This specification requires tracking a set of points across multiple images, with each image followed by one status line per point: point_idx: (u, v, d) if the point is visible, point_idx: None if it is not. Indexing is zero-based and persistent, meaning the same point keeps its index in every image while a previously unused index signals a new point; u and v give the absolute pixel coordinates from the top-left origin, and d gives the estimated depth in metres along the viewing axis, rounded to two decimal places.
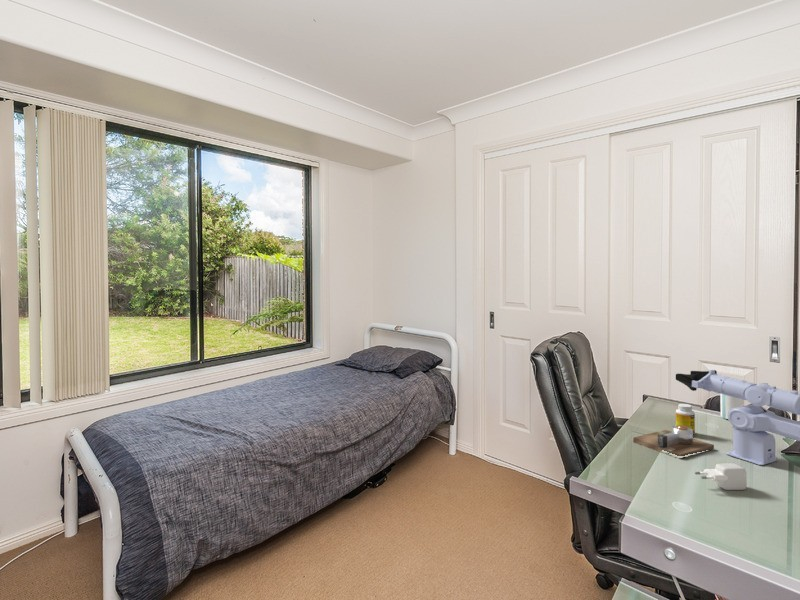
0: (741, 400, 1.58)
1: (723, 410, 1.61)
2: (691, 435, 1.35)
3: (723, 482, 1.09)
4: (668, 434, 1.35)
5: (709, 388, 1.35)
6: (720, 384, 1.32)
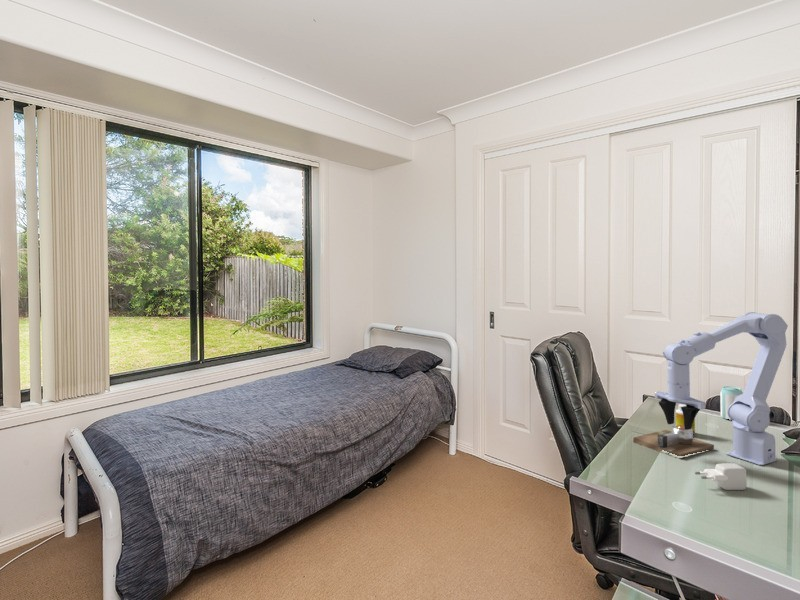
0: None
1: (723, 410, 1.61)
2: (691, 435, 1.35)
3: (723, 482, 1.09)
4: (668, 434, 1.35)
5: (689, 395, 1.28)
6: (685, 386, 1.27)
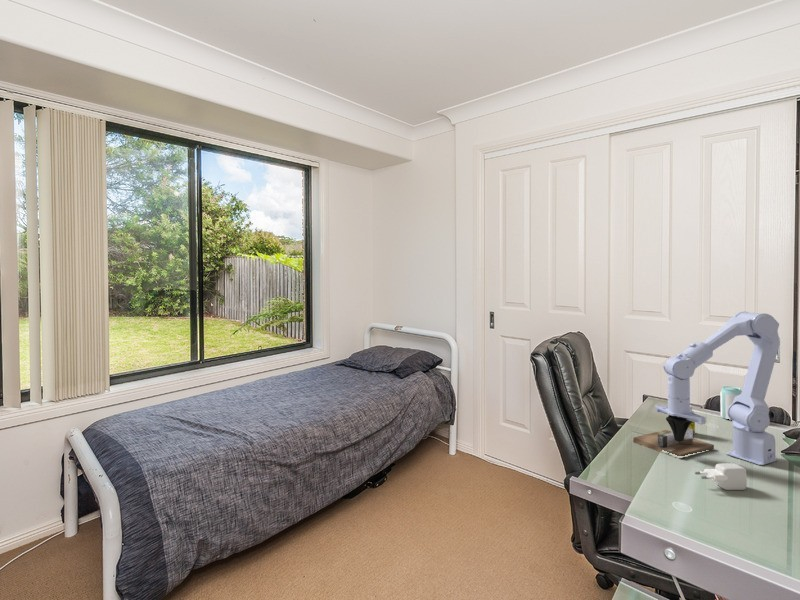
0: None
1: (723, 410, 1.61)
2: (691, 435, 1.35)
3: (723, 482, 1.09)
4: (668, 434, 1.35)
5: (689, 410, 1.28)
6: (686, 400, 1.27)
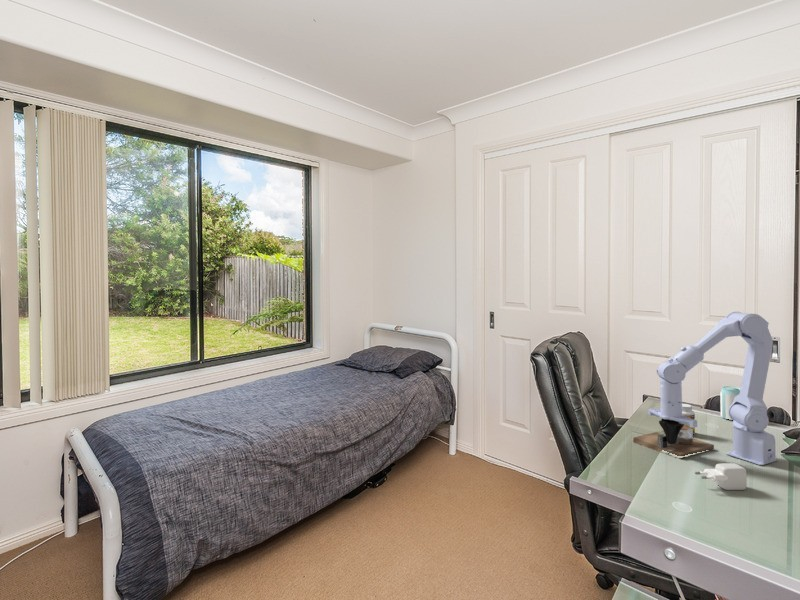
0: None
1: (723, 410, 1.61)
2: (691, 435, 1.35)
3: (723, 482, 1.09)
4: None
5: None
6: (678, 404, 1.29)
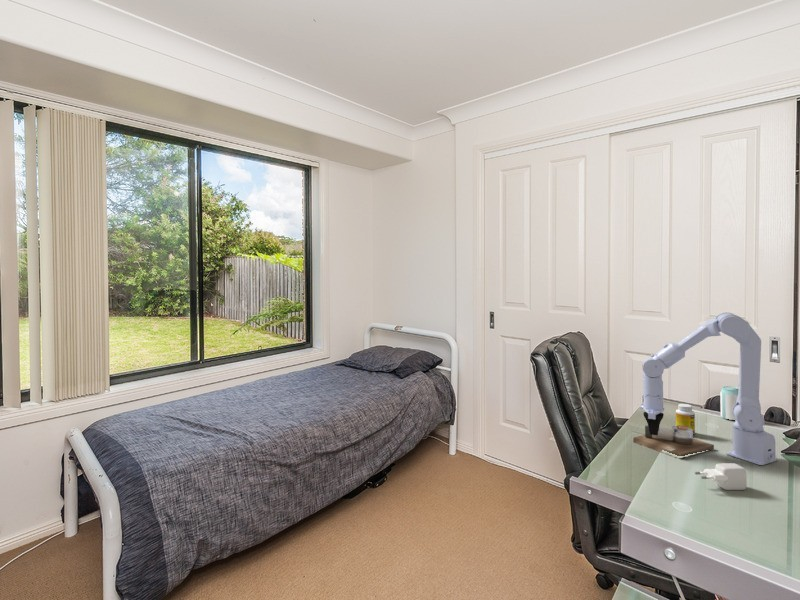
0: None
1: (723, 410, 1.61)
2: (683, 435, 1.35)
3: (723, 482, 1.09)
4: None
5: (658, 407, 1.37)
6: (649, 397, 1.38)
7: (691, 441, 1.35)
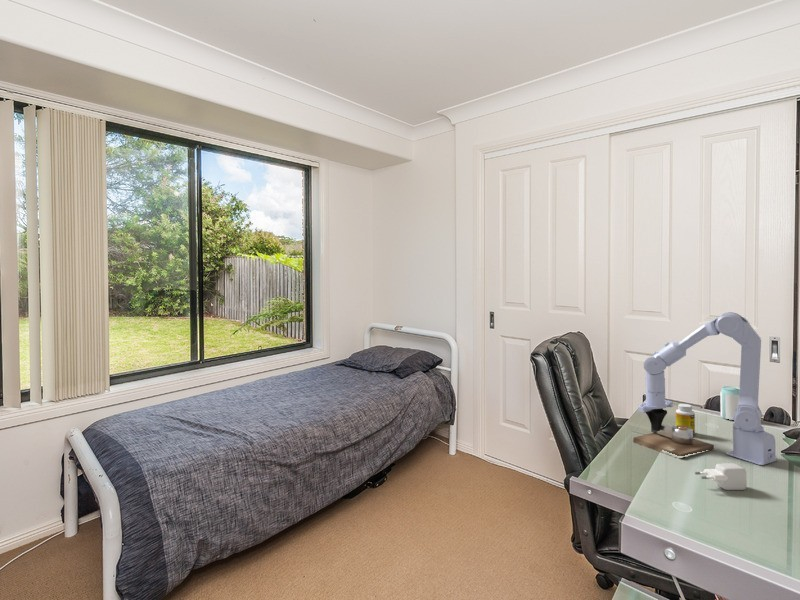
0: None
1: (723, 410, 1.61)
2: (677, 434, 1.36)
3: (723, 482, 1.09)
4: (662, 424, 1.44)
5: (655, 404, 1.42)
6: (647, 392, 1.43)
7: (686, 442, 1.35)
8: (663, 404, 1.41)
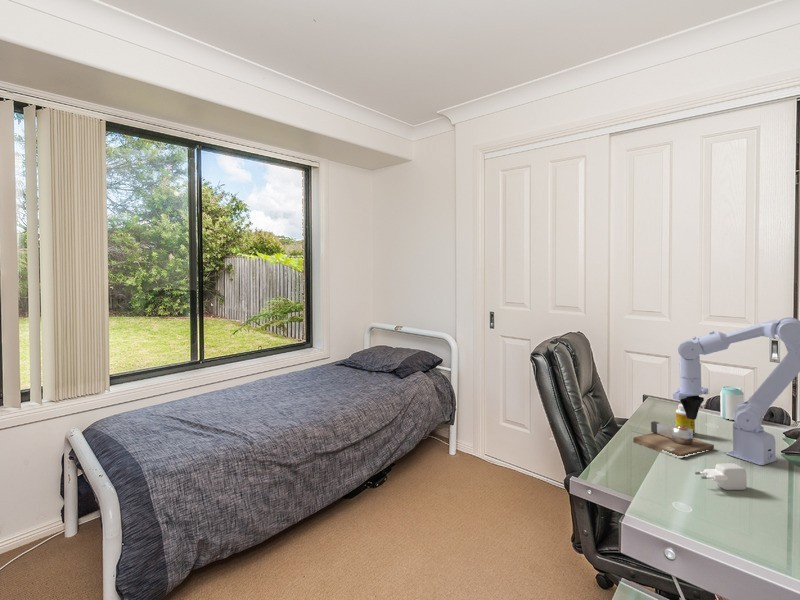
0: (741, 400, 1.58)
1: (723, 410, 1.61)
2: (677, 434, 1.36)
3: (723, 482, 1.09)
4: (662, 424, 1.44)
5: (690, 390, 1.34)
6: (682, 379, 1.36)
7: (686, 442, 1.35)
8: (699, 391, 1.34)
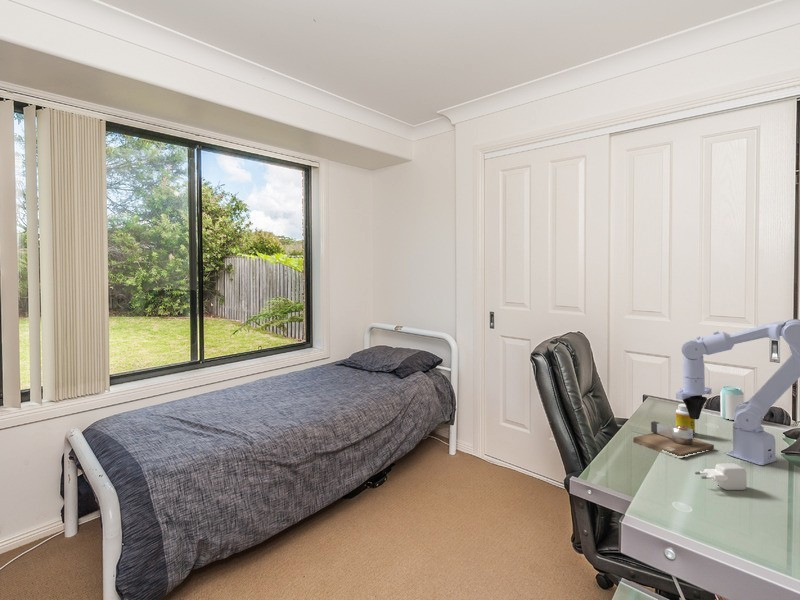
0: (741, 400, 1.58)
1: (723, 410, 1.61)
2: (677, 434, 1.36)
3: (723, 482, 1.09)
4: (662, 424, 1.44)
5: (694, 390, 1.34)
6: (685, 378, 1.36)
7: (686, 442, 1.35)
8: (702, 390, 1.34)
